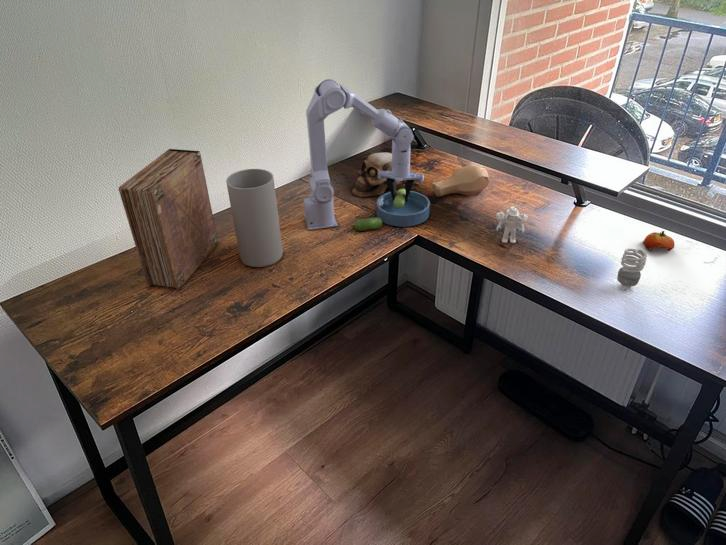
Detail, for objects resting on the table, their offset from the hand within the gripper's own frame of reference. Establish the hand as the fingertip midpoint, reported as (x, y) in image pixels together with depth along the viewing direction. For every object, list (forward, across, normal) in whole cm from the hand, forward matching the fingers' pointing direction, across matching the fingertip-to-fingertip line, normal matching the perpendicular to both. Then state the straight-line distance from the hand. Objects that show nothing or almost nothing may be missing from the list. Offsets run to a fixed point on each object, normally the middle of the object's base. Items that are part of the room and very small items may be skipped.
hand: (400, 199), depth 182 cm
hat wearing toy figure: (+4, +36, -12) cm, 38 cm away
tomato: (+4, +78, -6) cm, 78 cm away
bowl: (+4, +1, -3) cm, 5 cm away
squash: (+4, +18, +17) cm, 25 cm away
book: (+4, -54, -45) cm, 71 cm away
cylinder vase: (+4, -34, -36) cm, 50 cm away
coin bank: (+4, -11, +14) cm, 19 cm away
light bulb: (+4, +66, -30) cm, 73 cm away
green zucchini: (+4, -7, -14) cm, 16 cm away
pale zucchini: (+1, 0, 0) cm, 1 cm away
